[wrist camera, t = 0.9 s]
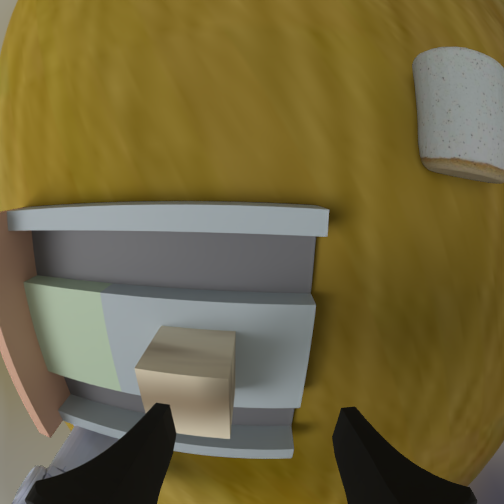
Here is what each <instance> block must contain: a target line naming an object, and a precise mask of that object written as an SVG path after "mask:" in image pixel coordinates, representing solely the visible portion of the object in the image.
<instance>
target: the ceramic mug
mask: <svg viewBox="0 0 504 504" xmlns="http://www.w3.org/2000/svg"><path fill="white" fill-rule="evenodd" d="M412 67H413V76H414V83H415V92H416V104H417V116H418V145H419V151H420V157H421V161H422V163H423V165H424V166H425V167H426V168H427V169H428V170H430V171H433V172H437V173H441V174H446V175H450V176H455V177H460V178H465V179H470V180H476V181H482V182H488V183H499V184H500V183H504V68H503V67H502V66H501V64H499V63H498V62H497V61H496V60H494V59H493V58H491V57H489V56H487V55H485V54H483V53H480V52H478V51H474V50H471V49H467V48H462V47H438V48H434V49H431V50H428V51H425V52H423V53H421V54H419V55H418V56H417V57H416V58H415V59H414V61H413V64H412Z"/></svg>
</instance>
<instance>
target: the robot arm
mask: <svg viewBox="0 0 504 504" xmlns="http://www.w3.org/2000/svg"><path fill="white" fill-rule="evenodd" d="M73 425H74V424H73ZM176 434H177V433H176V429H175V425H174V421H173V417H172V412H171V408H170V405H169V404H162V403H155V404H154V405H153V406H152V407H151V408H150V410H149V411H148V412H147V413H146V414H145V415H144V416H143V417H142V418H141V419H140V420H139V421H138V422H137V423H136V424H135V425H134V426H133V427H132V428H131V429H130V430H129V431H128V432H127V433H126V434H125V435H124V436H123V437H121V438H120V439H118V438H114V437H111V436H107V435H104V434H101V433H97V432H94V431H91V430H88V429H85V428H82V427H79V426H77V425H74V428H73V430H72V431H71V433H70V434H69V436H68V437H67V439H66V440H65V442H64V444H63V445H62V447H61V448H60V450H59V451H58V453H57V455H56V456H55V458H54V460H53V461H52V463H51V464H50V466H49V467H48V468H45V467H44V466H42V465H40V466H34V467H33V468H32V470H31V471H30V472H29V474H28V475H27V477H26V478H25V479H24V481H23V483H22V484H21V486H20V488H19V489H18V491H17V493H16V495H15V499H14V500H13V502H12V504H157V501H158V496H159V493H160V489H161V486H162V483H163V481H164V478H165V475H166V472H167V469H168V466H169V463H170V460H171V457H172V454H173V450H174V445H175V440H176ZM332 439H333V446H334V453H335V458H336V461H337V465H338V468H339V472H340V475H341V479H342V482H343V486H344V489H345V493H346V497H347V501H348V504H477V499H476V498H475V496H474V494H473V492H472V490H471V489H470V487H466V486H462V485H459V484H456V483H452V482H450V481H447V480H445V479H442V478H440V477H438V476H435V475H433V474H432V473H430V472H428V471H426V470H424V469H422V468H421V467H419V466H417V465H416V464H414V463H413V462H411V461H410V460H409V459H407V458H406V457H404V456H403V455H402V454H401V453H399V452H398V451H397V450H396V449H395V448H394V447H392V446H391V445H390V444H389V443H388V442H387V441H386V440H385V439H384V438H383V437H382V436H381V435H380V434H379V433H378V432H377V431H376V430H375V429H374V428H373V427H372V425H371V424H370V423H369V422H368V421H367V420H366V419H365V418H364V416H363V415H362V414H361V413H360V412H359V411H358V410H357V408H356V407H347V408H341V411H340V414H339V417H338V421H337V424H336V427H335V430H334V433H333V436H332Z"/></svg>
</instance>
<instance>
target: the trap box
mask: <svg viewBox="0 0 504 504" xmlns="http://www.w3.org/2000/svg"><path fill="white" fill-rule="evenodd" d="M328 220H329V209H326V208H323V207H320V206H317V205H305V204H286V203H263V202H231V201H132V202H101V203H79V204H62V205H47V206H34V207H23V208H17V209H12V210H7V211H2V212H0V351H1V354H2V357H3V359H4V362H5V364H6V367H7V369H8V372H9V374H10V376H11V378H12V381H13V383H14V385H15V387H16V389H17V391H18V394H19V396H20V398H21V400H22V402H23V404H24V405H25V407H26V409H27V411H28V413H29V415H30V416H31V418H32V420H33V421H34V423H35V425H36V427H37V429H38V430H39V432H40V433H41V434H43V435H45V436H47V437H51V436H52V435H53V434H54V432H55V431H56V429H57V428H58V426H59V425H60V424H61V422H62V421H63V420H64V421H66V422H69V423H71V424H74V425H77V426H79V427H82V428H85V429H88V430H91V431H94V432H97V433H101V434H104V435H107V436H111V437H114V438H118V439H120V438H121V437H123V436H124V435H125V434H126V433H127V432H128V431H129V430H130V429H131V428H132V427H133V426H134V425H135V424H136V423H137V422H138V421H139V420H140V419H141V418H142V417H143V416H144V415H145V414H146V413H145V409H144V405H143V402H142V398H141V394H140V390H139V386H138V382H137V378H136V373H135V369H134V368H135V366H136V365H137V363H138V361H139V360H140V358H141V357H142V355H143V353H144V352H145V350H146V349H147V347H148V345H149V344H150V342H151V341H152V339H153V338H154V336H155V335H156V333H157V331H158V330H159V328H160V327H161V326H170V327H181V328H193V329H206V330H222V331H236V342H235V397H234V406H233V416H232V425H231V435H230V439H224V438H212V437H202V436H194V435H186V434H179V433H177V434H176V440H175V445H174V450H173V451H178V452H185V453H192V454H200V455H209V456H219V457H233V458H258V459H278V458H292V456H293V452H294V445H293V436H292V428H291V424H292V419H293V413H294V408H300V405H301V400H302V395H303V389H304V384H305V378H306V372H307V366H308V360H309V353H310V347H311V340H312V333H313V326H314V318H315V310H316V304H315V302H314V299H313V297H312V295H311V285H312V275H313V264H314V253H315V240H316V236H321V237H327V234H328Z"/></svg>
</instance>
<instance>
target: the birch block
mask: <svg viewBox="0 0 504 504" xmlns="http://www.w3.org/2000/svg"><path fill="white" fill-rule="evenodd" d="M235 342H236V331H222V330H206V329H193V328H181V327H170V326H161V327H160V328H159V330H158V331H157V333H156V335H155V336H154V338H153V339H152V341H151V342H150V344H149V345H148V347H147V349H146V350H145V352H144V353H143V355H142V357H141V358H140V360H139V361H138V363H137V365H136V366H135V368H134V369H135V373H136V378H137V382H138V386H139V390H140V394H141V398H142V402H143V405H144V409H145V413H147V412H148V411H149V410H150V408H151V407H152V406H153V405H154V404H155V403H162V404H169V405H170V408H171V412H172V417H173V421H174V425H175V429H176V433H179V434H186V435H194V436H202V437H212V438H224V439H230V435H231V425H232V416H233V406H234V397H235Z"/></svg>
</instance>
